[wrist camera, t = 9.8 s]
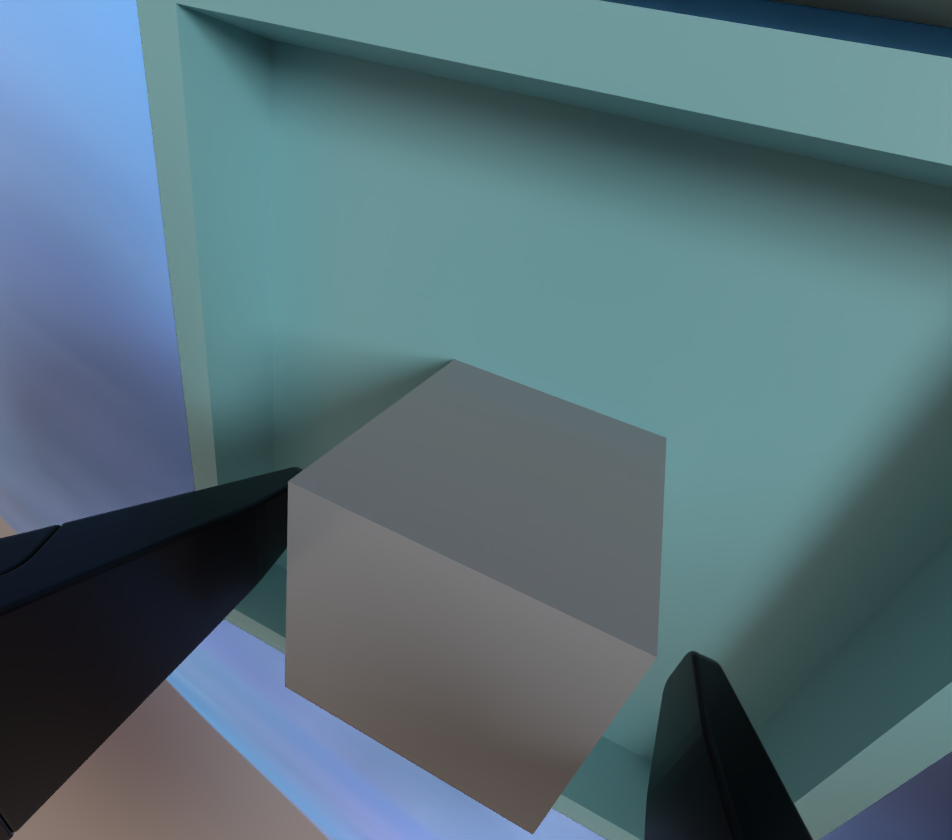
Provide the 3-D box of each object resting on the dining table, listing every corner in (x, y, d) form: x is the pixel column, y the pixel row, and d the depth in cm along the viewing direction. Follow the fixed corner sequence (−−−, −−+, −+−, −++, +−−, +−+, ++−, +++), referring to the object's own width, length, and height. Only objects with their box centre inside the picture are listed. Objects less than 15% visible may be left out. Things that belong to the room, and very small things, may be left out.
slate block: (666, 437, 9) (657, 657, 5) (587, 592, 11) (532, 834, 7) (454, 359, 10) (288, 481, 6) (421, 515, 12) (285, 686, 8)
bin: (1348, 195, 5) (1786, 194, 3) (713, 792, 13) (721, 905, 11) (258, -12, 9) (127, -77, 7) (268, 558, 17) (209, 610, 14)
